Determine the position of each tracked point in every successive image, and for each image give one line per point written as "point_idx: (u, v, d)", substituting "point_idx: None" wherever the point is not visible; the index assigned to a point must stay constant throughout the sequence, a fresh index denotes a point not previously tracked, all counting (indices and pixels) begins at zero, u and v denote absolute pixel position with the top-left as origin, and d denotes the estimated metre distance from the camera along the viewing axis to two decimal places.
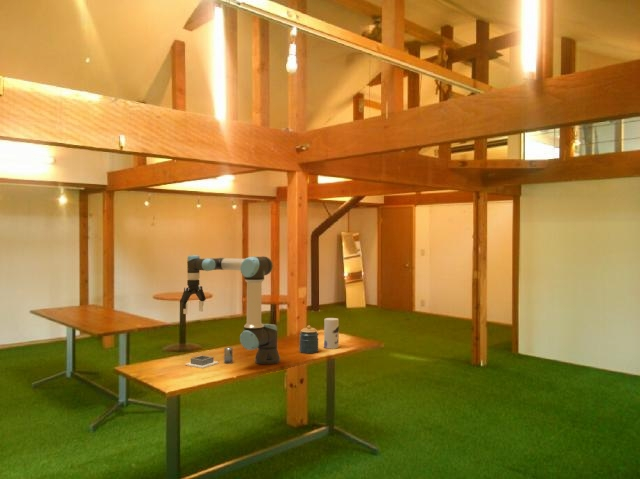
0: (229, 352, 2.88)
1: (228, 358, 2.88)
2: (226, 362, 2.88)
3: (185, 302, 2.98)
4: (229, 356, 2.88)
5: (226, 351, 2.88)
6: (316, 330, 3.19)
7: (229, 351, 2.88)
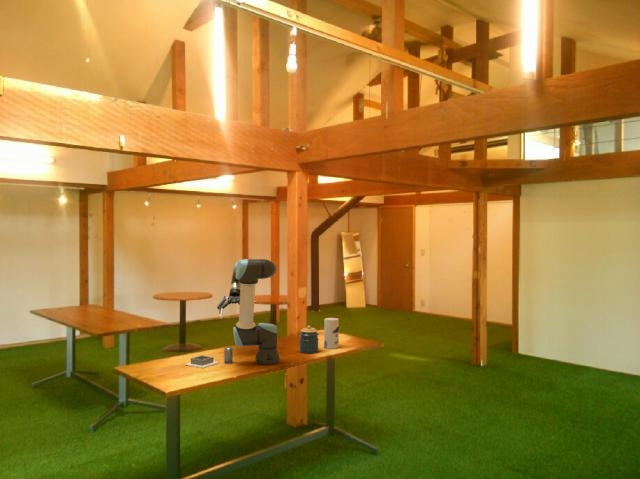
0: (229, 352, 2.88)
1: (228, 358, 2.88)
2: (226, 362, 2.88)
3: (220, 307, 3.05)
4: (229, 356, 2.88)
5: (226, 351, 2.88)
6: (316, 330, 3.19)
7: (229, 351, 2.88)
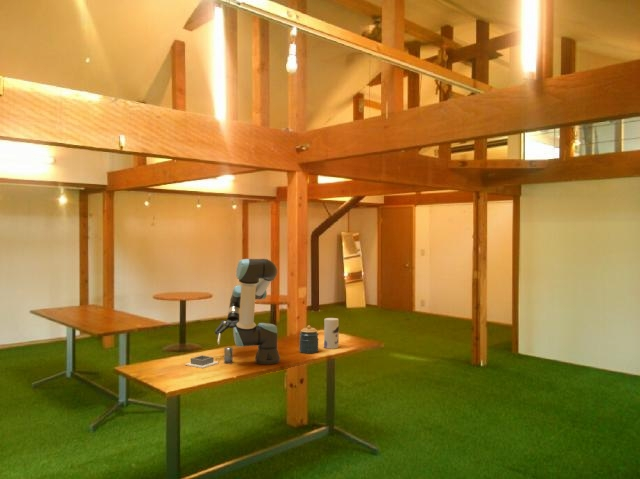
0: (229, 352, 2.88)
1: (228, 358, 2.88)
2: (226, 362, 2.88)
3: (218, 331, 3.00)
4: (229, 356, 2.88)
5: (226, 351, 2.88)
6: (316, 330, 3.19)
7: (229, 351, 2.88)
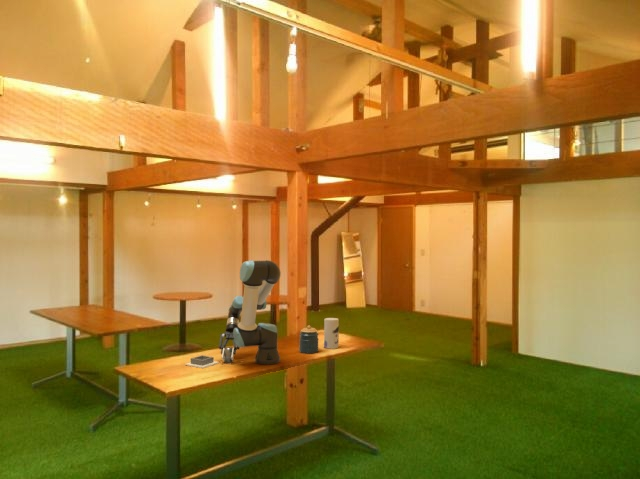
0: (229, 352, 2.88)
1: (228, 358, 2.88)
2: (226, 362, 2.88)
3: (222, 347, 2.91)
4: (229, 356, 2.88)
5: (226, 351, 2.88)
6: (316, 330, 3.19)
7: (229, 351, 2.88)
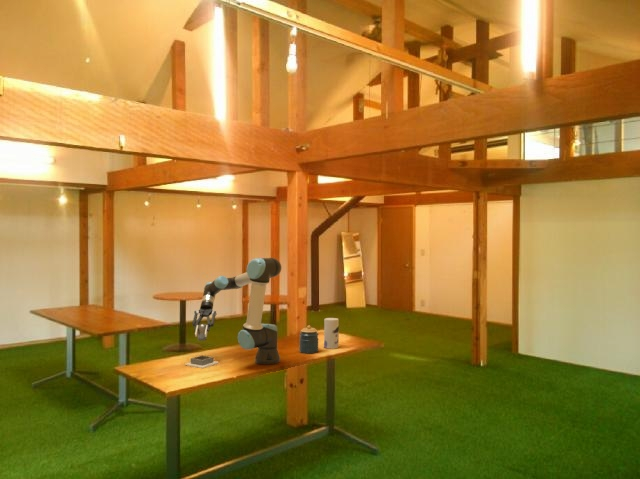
0: (203, 329, 2.84)
1: (201, 335, 2.84)
2: (200, 339, 2.84)
3: (195, 324, 2.87)
4: (203, 333, 2.84)
5: (200, 328, 2.84)
6: (316, 330, 3.19)
7: (202, 327, 2.84)
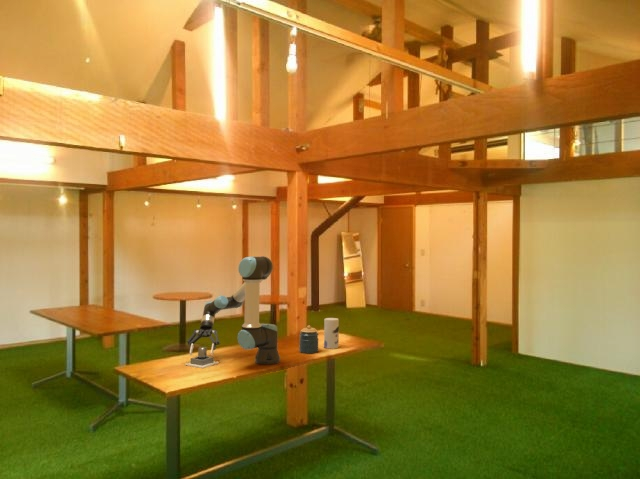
0: (203, 352, 2.84)
1: (201, 358, 2.84)
2: None
3: (190, 342, 2.88)
4: (203, 356, 2.84)
5: (200, 351, 2.84)
6: (316, 330, 3.19)
7: (202, 351, 2.84)
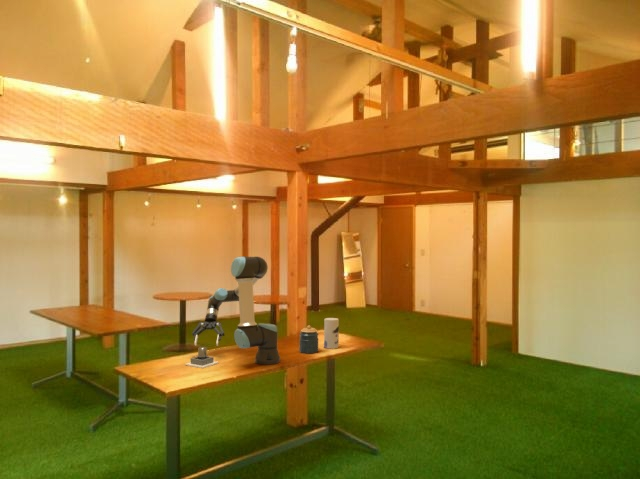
0: (203, 352, 2.84)
1: (201, 358, 2.84)
2: None
3: (195, 333, 3.02)
4: (203, 356, 2.84)
5: (200, 351, 2.84)
6: (316, 330, 3.19)
7: (202, 351, 2.84)
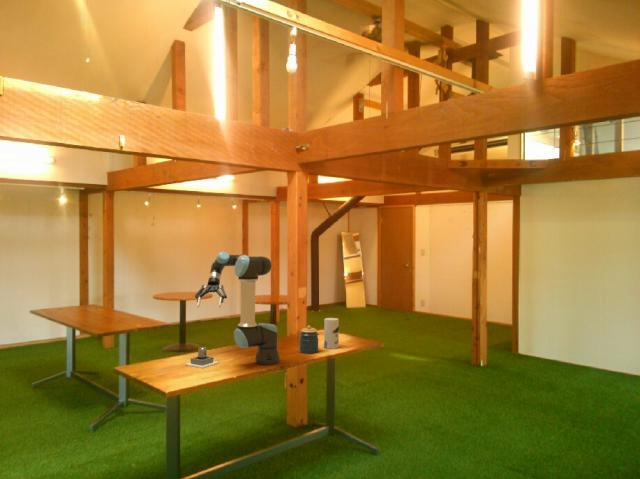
0: (203, 352, 2.84)
1: (201, 358, 2.84)
2: None
3: (198, 295, 3.05)
4: (203, 356, 2.84)
5: (200, 351, 2.84)
6: (316, 330, 3.19)
7: (202, 351, 2.84)
